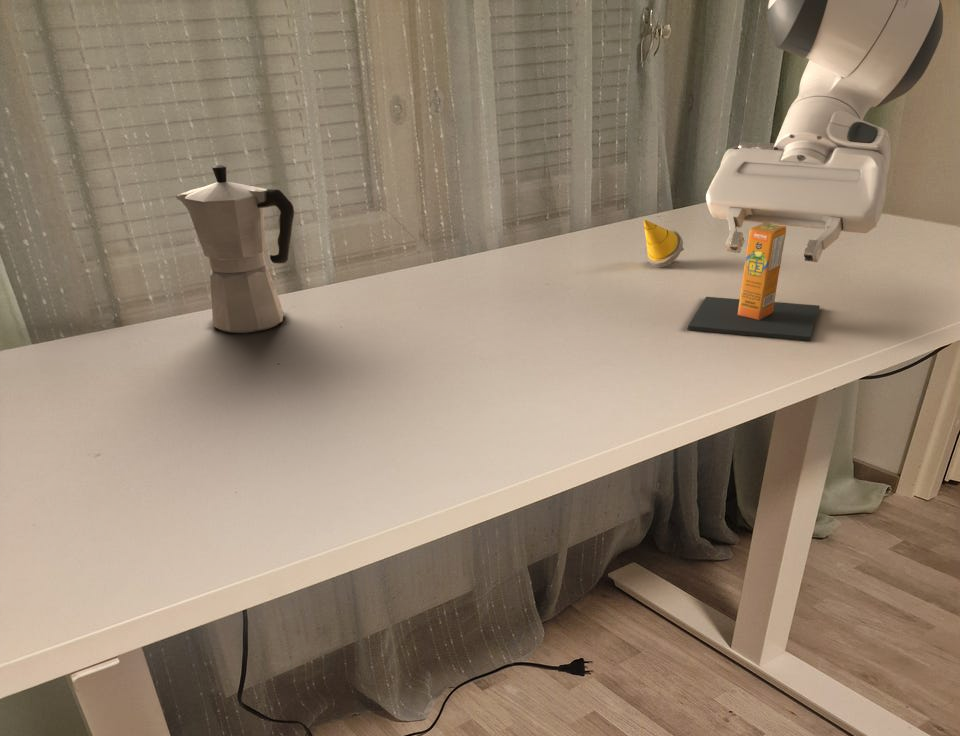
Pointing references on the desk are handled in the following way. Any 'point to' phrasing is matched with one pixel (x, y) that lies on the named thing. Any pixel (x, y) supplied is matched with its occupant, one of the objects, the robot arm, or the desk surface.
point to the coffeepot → (239, 250)
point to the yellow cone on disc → (661, 244)
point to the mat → (779, 324)
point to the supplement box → (761, 270)
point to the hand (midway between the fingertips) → (770, 254)
